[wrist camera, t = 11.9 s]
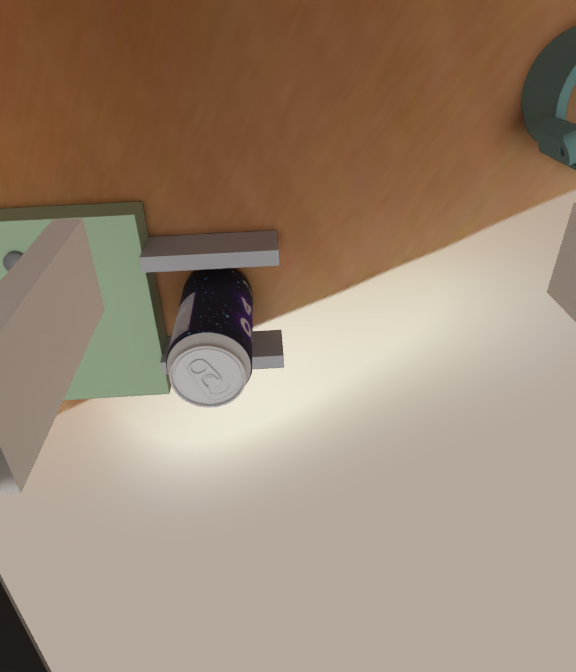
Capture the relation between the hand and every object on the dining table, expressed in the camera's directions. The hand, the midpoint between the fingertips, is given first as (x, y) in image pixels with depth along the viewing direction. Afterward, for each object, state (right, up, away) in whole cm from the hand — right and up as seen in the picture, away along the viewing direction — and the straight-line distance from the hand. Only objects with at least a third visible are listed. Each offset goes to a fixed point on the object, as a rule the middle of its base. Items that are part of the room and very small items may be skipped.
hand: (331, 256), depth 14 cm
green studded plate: (-13, +1, +29) cm, 32 cm away
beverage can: (-7, +2, +29) cm, 30 cm away
